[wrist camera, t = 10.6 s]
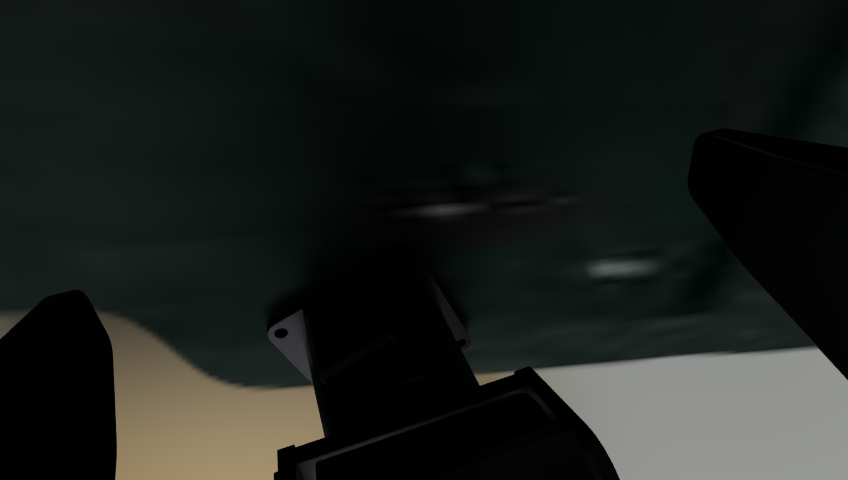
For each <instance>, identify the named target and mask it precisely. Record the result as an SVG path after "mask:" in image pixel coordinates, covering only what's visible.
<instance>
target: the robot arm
mask: <svg viewBox="0 0 848 480" xmlns="http://www.w3.org/2000/svg"><path fill="white" fill-rule="evenodd" d="M688 189H689V192H690V195H691V196H692V198H693V199H694V201H695V202H696V203H697V205H698V206H699V207H700V209H701V210H702V211H703V213H704V214H705V215H706V217H707V218H708V220H709V221H710V222H711V224H712V225H713V226H714V228H715V229H716V230H717V232H718V233H719V234H720V236H721V237H722V238H723V240H724V241H725V242H726V244H727V245H728V246H729V248H730V249H731V250H732V252H733V253H734V255H735V256H736V257H737V258H738V260H739V261H740V262H741V263H742V265H743V266H744V267H745V268H746V269H747V271H748V272H749V273H750V274H751V275H752V276H753V277H754V279H755V280H756V281H757V282H758V283H759V284H760V285H761V286H762V287H763V288H764V289H765V291H766V292H767V293H768V294H769V295H770V296H771V297H772V298H773V299H774V300H775V301H776V302H777V304H778V305H779V306H780V307H781V308H782V309H783V310H784V311H785V312H786V313H787V314H788V316H789V317H790V318H791V319H792V320H793V321H794V322H795V323H796V324H797V325H798V326H799V328H800V329H801V330H802V331H803V332H804V333H805V334H806V335H807V336H808V337H809V338H810V340H811V341H812V342H813V343H814V344H815V345H816V346H817V347H818V348H819V349H820V350H821V351H822V353H823V354H824V355H825V356H826V357H827V358H828V359H829V360H830V361H831V362H832V363H833V365H834V366H835V367H836V368H837V369H838V370H839V371H840V372H841V373H842V374H843V375H844V377H846V379H847V380H848V148H844V147H838V146H832V145H826V144H820V143H813V142H807V141H801V140H795V139H789V138H783V137H776V136H770V135H764V134H758V133H752V132H745V131H739V130H733V129H726V128H724V129H718V130H714V131H710V132H706V133H703V134H701V135H699V136H698V137H697V139H696V140H695V142H694V146H693V152H692V158H691V164H690V169H689V175H688ZM404 254H409V255H408V257H406V258H405V259H400V257H401V256H402V255H404ZM280 328H285V330H284V331H281V332H277V331H276V330H277V329H280ZM267 334H268V337H269V339H270V341H271V342H272V343H273V344H274V345H275V346H276V347H277V348H278V349H279V350H280V351H281V352H282V353H283V354H284V355H285V356H286V357H287V358H288V359H289V360H290V361H291V362H292V363H293V364H294V365H295V366H296V367H297V368H298V369H299V370H300V371H301V372H302V373H303V374H304V375H305V377H306V378H307V379H308V380H309V381H310V382H311V383H312V384H313V386H314V391H315V395H316V400H317V404H318V408H319V413H320V418H321V422H322V427H323V431H324V436H325V438H322V439H320V440H316V441H313V442H310V443H307V444H304V445H302V446H298V447H295V445H292V446H289V447H286V448H282V449H279V450H278V451H277V456H278V472H275V473H274V480H620V479H619V477H618V475H617V472H616V470H615V468H614V466H613V463H612V462H611V460H610V458H609V456H608V454H607V452H606V451H605V449H604V447H603V446H602V444H601V443H600V441H599V440H598V438H597V437H596V435H595V434H594V433H593V431H592V430H591V429H590V428H589V427H588V426H587V425H586V423H585V422H584V421H583V420H582V419H581V418H580V417H579V416H578V415H577V414H576V413H575V412H574V411H573V410H572V409H571V408H570V407H569V406H568V405H567V404H566V403H565V402H564V401H563V400H562V399H561V398H560V397H559V396H558V395H557V394H556V393H555V392H554V391H553V390H552V389H551V388H550V386H548V384H547V383H546V382H545V381H544V380H543V379H542V378H541V377H540V376H539V375H538V374H537V373H536V372H535V371H534V370H533V369H532V368H531V367H530V366H529V367H526V368H523V369H520V370H517V371H515V372H514V375H511V376H508V377H505V378H502V379H499V380H496V381H493V382H490V383H487V384H484V385H481V386H480V385H479V384H478V382H477V380H476V378H475V376H474V374H473V372H472V370H471V368H470V366H469V364H468V362H467V360H466V358H465V356H464V354H463V353H462V351H464V350H465V349H467V348H468V347H469V345H470V344H471V338H470V336H469V334H468V332H467V330H466V329H465V327H464V326H463V324H462V323H461V321H460V319H459V318H458V316H457V315H456V313H455V311H454V310H453V308H452V307H451V305H450V304H449V302H448V300H447V299H446V297H445V296H444V294H443V293H442V291H441V289H440V288H439V286H438V285H437V283H436V281H435V280H434V278H433V277H432V275H431V274H430V272H429V270H428V269H427V267H426V266H425V264H424V262H423V261H422V259H421V258H420V256H419V255H418V253H417V251H416V250H415V248H414V247H413V246H412V245H411V244H408V243H401V244H398V245H396V246H394V247H393V248H391V249H389V250H388V251H386V252H384V253H383V254H381V255H379V256H378V257H376V258H374V259H373V260H371V261H369V262H368V263H366V264H364V265H362V266H361V267H359V268H356V269H355V270H353V271H351V272H350V273H348V274H346V275H345V276H343V277H341V278H339V279H338V280H336V281H334V282H333V283H331V284H329V285H328V286H326V287H324V288H323V289H321V290H319V291H318V292H316V293H314V294H312V295H311V296H309V297H307V298H306V299H305V300H303V301H302V302H300V303H298V304H297V305H295V306H293V307H292V308H290V309H288V310H287V311H285V312H283V313H282V314H280V315H278V316H277V317H275V318H273V319H272V320H271V321H269V323H268V325H267ZM459 339H461V340H460V341H457V340H459ZM116 440H117V438H116V416H115V392H114V369H113V351H112V345H111V342H110V339H109V336H108V334H107V332H106V330H105V328H104V327H103V325H102V323H101V321H100V319H99V317H98V315H97V313H96V312H95V310H94V308H93V306H92V304H91V302H90V300H89V299H88V297H87V296H86V295H85V293H83V292H82V291H80V290H72V291H68V292H64V293H60V294H56V295H52V296H48V297H46V298H44V299H43V300H42V301H41V302H40V303H39V304H38V305H37V306H36V307H34V308H33V309H32V310H31V311H30V312H29V313H28V314H27V315H26V316H25V317H24V318H23V319H22V320H21V321H19V322H18V323H17V324H16V325H15V326H14V327H13V328H12V329H11V330H10V331H9V332H8V333H7V334H6V335H5V336H3V337H2V338H1V339H0V480H115V474H116V473H115V472H116V458H117V444H116V443H117V441H116Z"/></svg>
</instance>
